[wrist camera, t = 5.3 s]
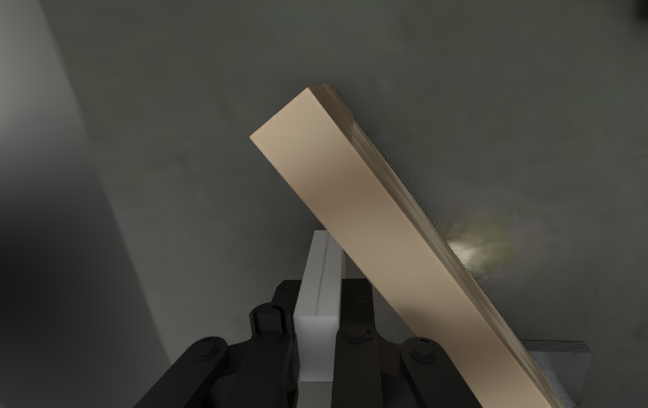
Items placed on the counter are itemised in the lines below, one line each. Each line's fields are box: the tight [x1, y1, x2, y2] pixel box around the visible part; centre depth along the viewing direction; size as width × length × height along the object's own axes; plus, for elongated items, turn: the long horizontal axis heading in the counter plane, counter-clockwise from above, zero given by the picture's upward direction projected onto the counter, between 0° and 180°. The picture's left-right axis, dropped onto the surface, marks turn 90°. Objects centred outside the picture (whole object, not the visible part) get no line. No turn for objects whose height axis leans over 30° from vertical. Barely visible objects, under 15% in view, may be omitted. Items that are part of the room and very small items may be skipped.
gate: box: [250, 82, 565, 408], centre depth 16 cm, size 22×2×8 cm, turn 39°
